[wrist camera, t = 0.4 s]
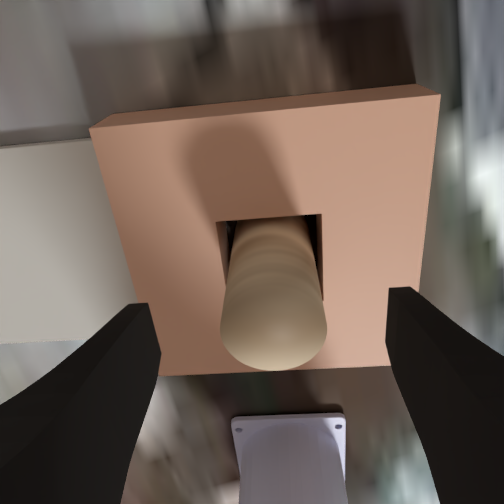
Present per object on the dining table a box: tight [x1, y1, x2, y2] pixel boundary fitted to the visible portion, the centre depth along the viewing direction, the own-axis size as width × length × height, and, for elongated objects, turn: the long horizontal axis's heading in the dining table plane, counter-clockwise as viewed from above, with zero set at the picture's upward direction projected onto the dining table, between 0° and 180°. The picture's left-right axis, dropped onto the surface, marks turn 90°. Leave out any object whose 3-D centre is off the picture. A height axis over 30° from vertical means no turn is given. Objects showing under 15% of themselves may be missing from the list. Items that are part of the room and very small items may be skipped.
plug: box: [220, 215, 327, 371], centre depth 19 cm, size 4×4×8 cm
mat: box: [0, 138, 138, 344], centre depth 23 cm, size 12×12×1 cm
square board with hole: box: [89, 84, 441, 376], centre depth 21 cm, size 14×14×3 cm
